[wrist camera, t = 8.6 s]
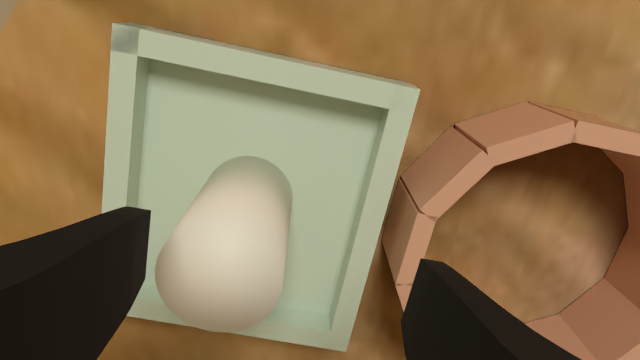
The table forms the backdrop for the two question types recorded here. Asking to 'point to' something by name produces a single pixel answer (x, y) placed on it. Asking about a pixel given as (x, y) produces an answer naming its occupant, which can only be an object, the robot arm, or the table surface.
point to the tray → (265, 142)
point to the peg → (229, 248)
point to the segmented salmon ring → (507, 145)
